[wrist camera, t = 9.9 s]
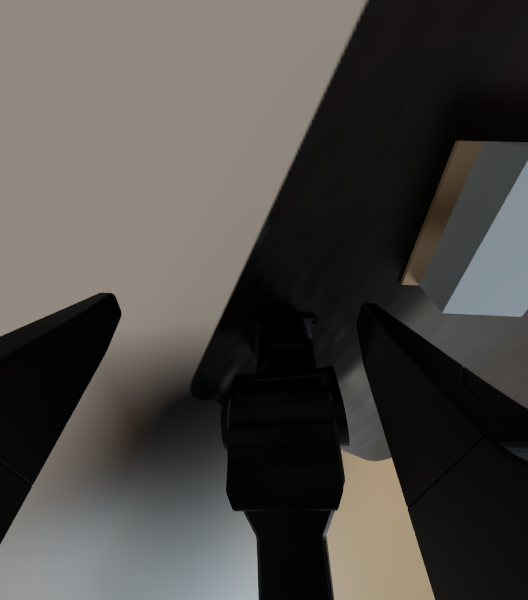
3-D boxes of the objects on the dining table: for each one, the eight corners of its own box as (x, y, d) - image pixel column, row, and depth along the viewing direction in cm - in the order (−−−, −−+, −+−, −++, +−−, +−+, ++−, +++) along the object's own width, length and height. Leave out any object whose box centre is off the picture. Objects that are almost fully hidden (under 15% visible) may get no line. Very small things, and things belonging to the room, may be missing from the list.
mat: (501, 286, 23) (504, 288, 23) (400, 282, 23) (402, 284, 23) (596, 144, 17) (603, 144, 16) (455, 140, 17) (459, 141, 17)
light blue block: (486, 287, 23) (521, 316, 20) (418, 284, 23) (442, 313, 20) (579, 144, 16) (654, 151, 13) (484, 141, 16) (534, 147, 13)
